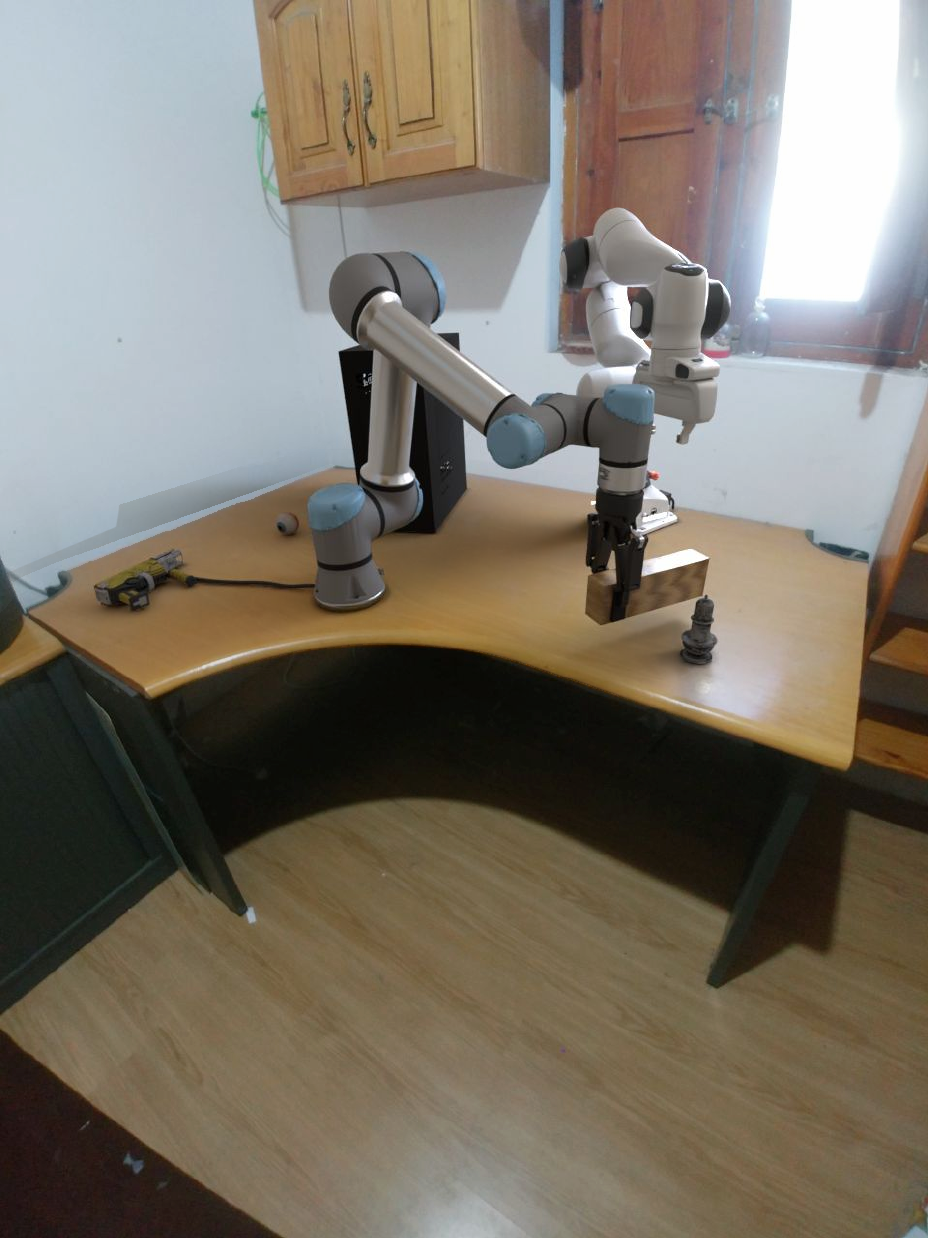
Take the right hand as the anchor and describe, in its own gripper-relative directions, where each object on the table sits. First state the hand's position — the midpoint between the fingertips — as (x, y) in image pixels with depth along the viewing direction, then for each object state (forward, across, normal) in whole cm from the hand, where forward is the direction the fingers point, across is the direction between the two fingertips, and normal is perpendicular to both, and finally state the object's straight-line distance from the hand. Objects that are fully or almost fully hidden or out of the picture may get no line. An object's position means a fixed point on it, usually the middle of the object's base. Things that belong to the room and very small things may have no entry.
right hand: (665, 438), depth 120 cm
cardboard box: (+29, -68, -29) cm, 79 cm away
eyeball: (+29, -67, -68) cm, 100 cm away
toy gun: (+29, -50, -100) cm, 116 cm away
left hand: (+24, +18, -25) cm, 39 cm away
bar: (+24, +18, -17) cm, 35 cm away
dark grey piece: (+29, +31, -15) cm, 45 cm away
